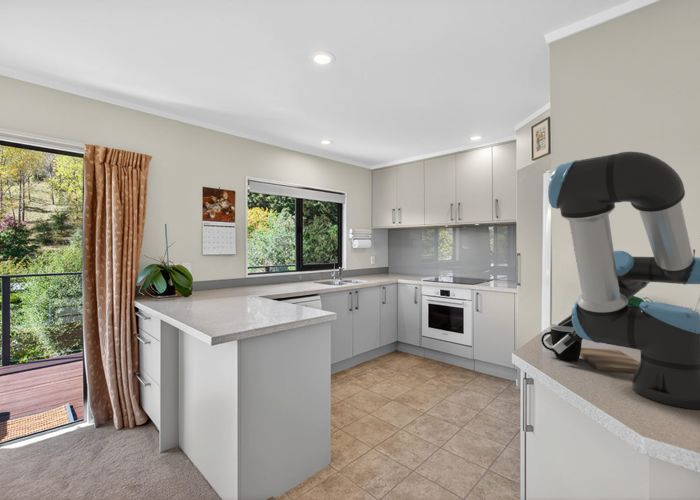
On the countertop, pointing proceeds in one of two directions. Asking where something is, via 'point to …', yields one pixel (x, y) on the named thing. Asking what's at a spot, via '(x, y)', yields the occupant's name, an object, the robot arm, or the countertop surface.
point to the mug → (571, 351)
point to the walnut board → (609, 360)
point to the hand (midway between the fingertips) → (551, 346)
